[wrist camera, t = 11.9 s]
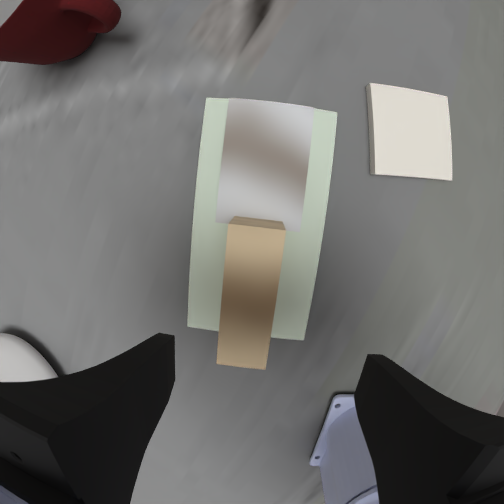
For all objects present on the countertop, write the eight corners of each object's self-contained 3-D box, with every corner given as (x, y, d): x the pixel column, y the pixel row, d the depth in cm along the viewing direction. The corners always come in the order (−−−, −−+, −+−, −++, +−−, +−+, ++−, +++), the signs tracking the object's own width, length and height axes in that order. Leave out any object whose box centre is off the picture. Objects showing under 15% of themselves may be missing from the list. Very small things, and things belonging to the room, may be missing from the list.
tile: (452, 180, 17) (447, 96, 16) (375, 174, 17) (370, 82, 16) (442, 180, 18) (438, 100, 17) (368, 174, 19) (364, 88, 17)
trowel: (281, 339, 20) (284, 371, 17) (208, 330, 20) (197, 360, 17) (312, 109, 17) (324, 93, 13) (230, 100, 17) (221, 81, 13)
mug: (163, -9, 16) (113, -88, 6) (132, 81, 17) (46, 27, 8) (59, 5, 16) (-8, -38, 6) (29, 85, 17) (-56, 63, 8)
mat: (302, 334, 21) (303, 340, 20) (189, 321, 21) (187, 326, 20) (334, 115, 18) (337, 112, 17) (208, 100, 18) (206, 97, 17)
